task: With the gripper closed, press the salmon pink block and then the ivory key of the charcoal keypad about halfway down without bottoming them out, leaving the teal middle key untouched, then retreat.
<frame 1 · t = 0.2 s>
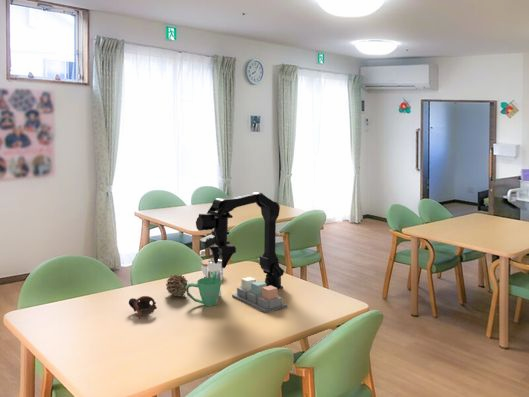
hand: (219, 265, 214), 15 cm above the table, fingers open, 8 cm apart
key teal: (258, 289, 213), point 5 cm above the table, slide at 0.0 cm
key ivory: (248, 284, 219), point 5 cm above the table, slide at 0.0 cm
salmon pink block: (269, 293, 207), point 5 cm above the table, slide at 0.0 cm
pine cone: (175, 293, 225), on the table
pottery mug: (142, 314, 202), on the table
lidded jar: (212, 277, 249), on the table
mug: (204, 305, 211), on the table
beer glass: (214, 295, 222), on the table, touching gripper
keypad base: (259, 301, 214), on the table
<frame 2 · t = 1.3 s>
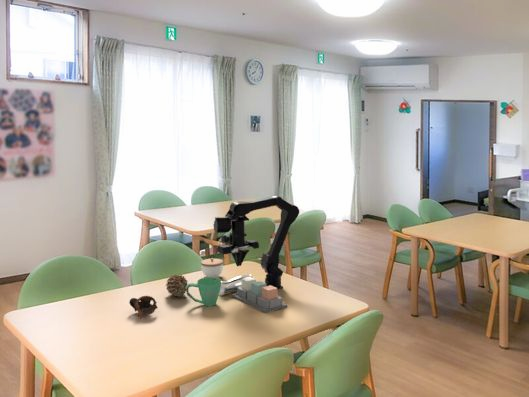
hand: (238, 265, 224), 12 cm above the table, fingers closed
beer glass: (220, 288, 222), point 3 cm above the table
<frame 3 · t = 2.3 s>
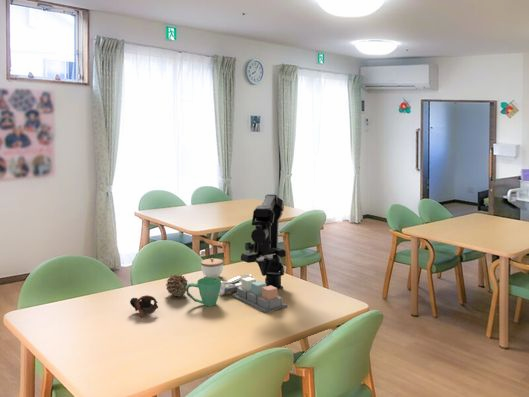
hand: (263, 275, 209), 12 cm above the table, fingers closed
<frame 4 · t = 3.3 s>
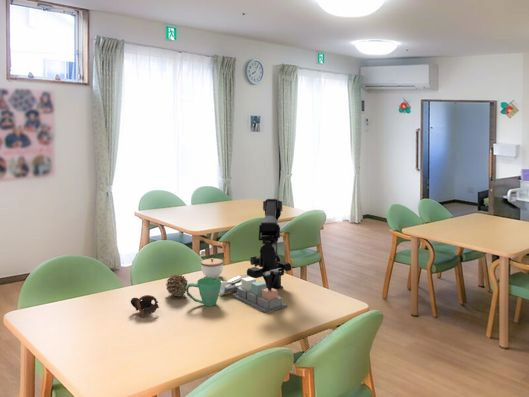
hand: (269, 289, 207), 7 cm above the table, fingers closed, pressing on salmon pink block
salmon pink block: (269, 295, 207), point 5 cm above the table, slide at 0.9 cm, touching gripper
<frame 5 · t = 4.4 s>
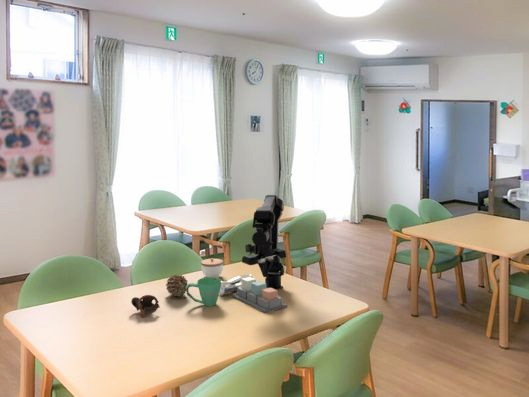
hand: (264, 276, 209), 12 cm above the table, fingers closed
salmon pink block: (269, 296, 207), point 5 cm above the table, slide at 0.9 cm
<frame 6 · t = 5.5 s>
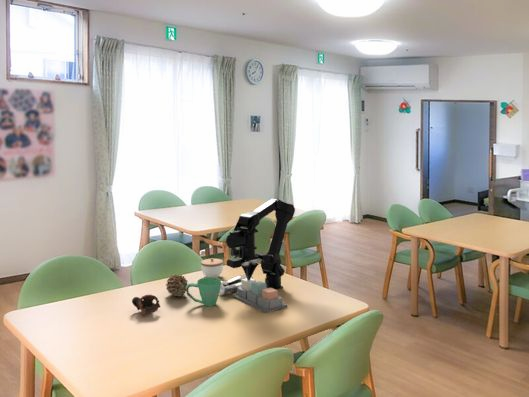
hand: (248, 279, 219), 8 cm above the table, fingers closed, pressing on key ivory
key ivory: (248, 285, 219), point 5 cm above the table, slide at 0.3 cm, touching gripper
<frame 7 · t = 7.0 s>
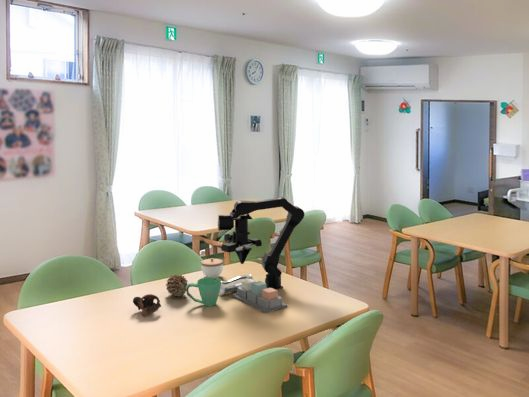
hand: (242, 263, 228), 12 cm above the table, fingers closed
key ivory: (248, 286, 219), point 5 cm above the table, slide at 0.9 cm
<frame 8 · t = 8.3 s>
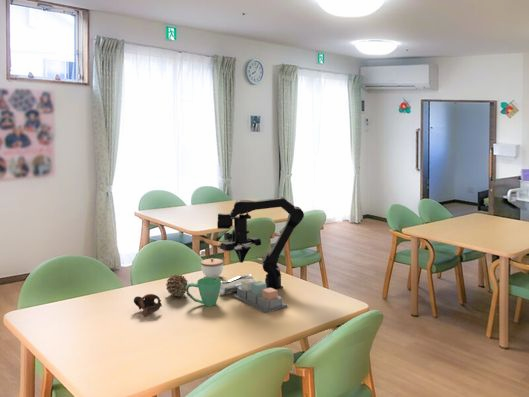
hand: (241, 262, 230), 12 cm above the table, fingers closed
at the end: salmon pink block slide at 0.9 cm; key ivory slide at 0.9 cm; key teal slide at 0.0 cm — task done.
